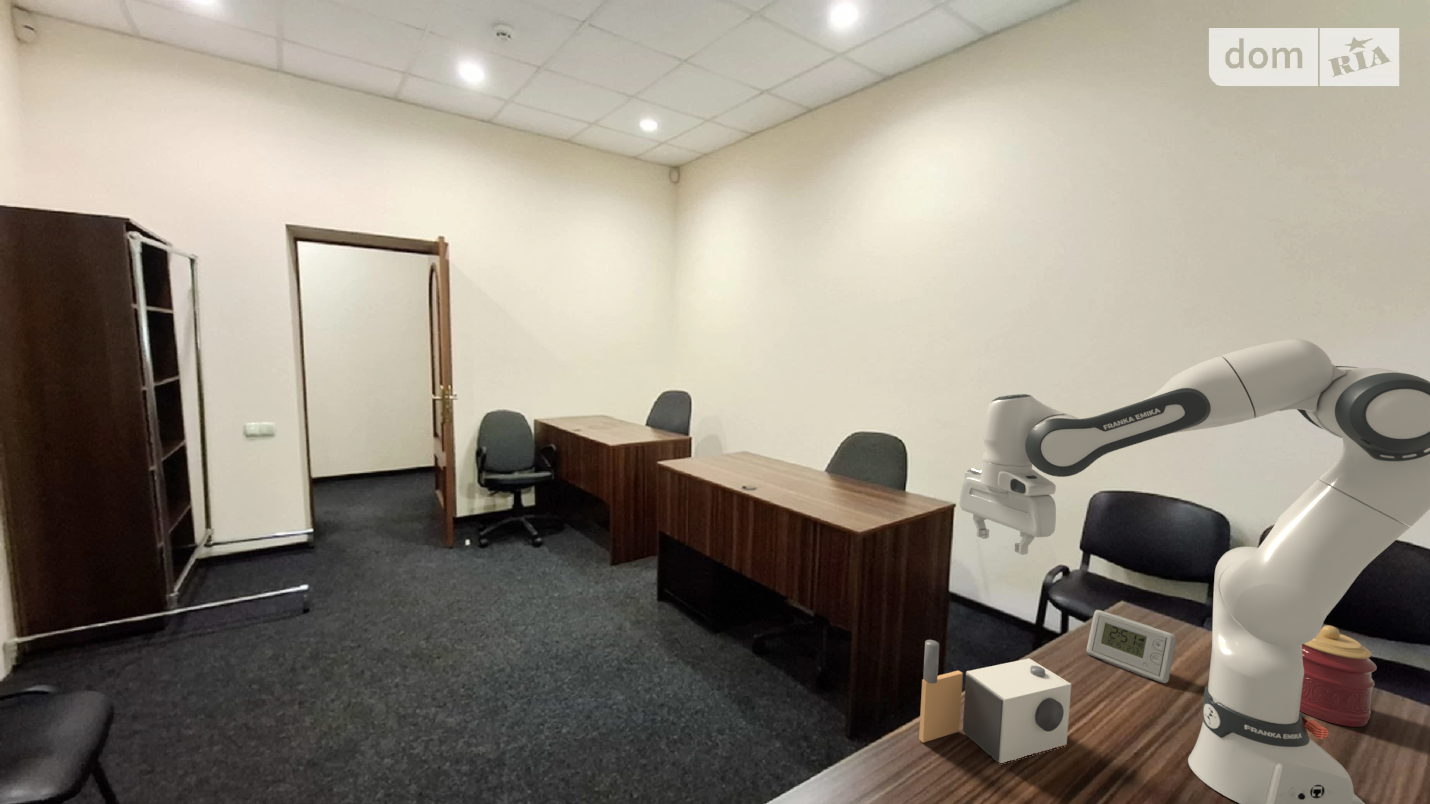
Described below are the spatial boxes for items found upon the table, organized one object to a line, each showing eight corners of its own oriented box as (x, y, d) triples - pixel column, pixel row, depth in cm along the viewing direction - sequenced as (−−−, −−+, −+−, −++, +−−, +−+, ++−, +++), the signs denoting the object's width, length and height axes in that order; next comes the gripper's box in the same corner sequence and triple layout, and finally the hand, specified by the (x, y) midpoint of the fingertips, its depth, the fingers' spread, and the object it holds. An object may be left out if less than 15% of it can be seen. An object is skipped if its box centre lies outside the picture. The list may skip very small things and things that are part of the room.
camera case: (1025, 715, 112) (1029, 654, 111) (1071, 749, 102) (1076, 682, 101) (960, 731, 107) (964, 667, 105) (1003, 769, 97) (1008, 698, 96)
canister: (1354, 703, 118) (1364, 622, 117) (1381, 737, 107) (1393, 649, 106) (1269, 682, 125) (1278, 606, 124) (1287, 712, 114) (1296, 629, 113)
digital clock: (1081, 653, 136) (1084, 611, 135) (1103, 645, 140) (1107, 604, 139) (1157, 690, 122) (1162, 643, 121) (1180, 680, 125) (1184, 634, 125)
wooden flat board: (962, 733, 106) (967, 639, 104) (925, 745, 102) (931, 647, 101) (952, 725, 108) (957, 633, 106) (916, 736, 105) (921, 641, 103)
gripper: (954, 466, 119) (950, 530, 120) (1037, 489, 99) (1032, 565, 100) (977, 465, 121) (973, 528, 122) (1064, 487, 101) (1058, 561, 103)
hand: (1001, 545), depth 111 cm, fingers open, 8 cm apart
